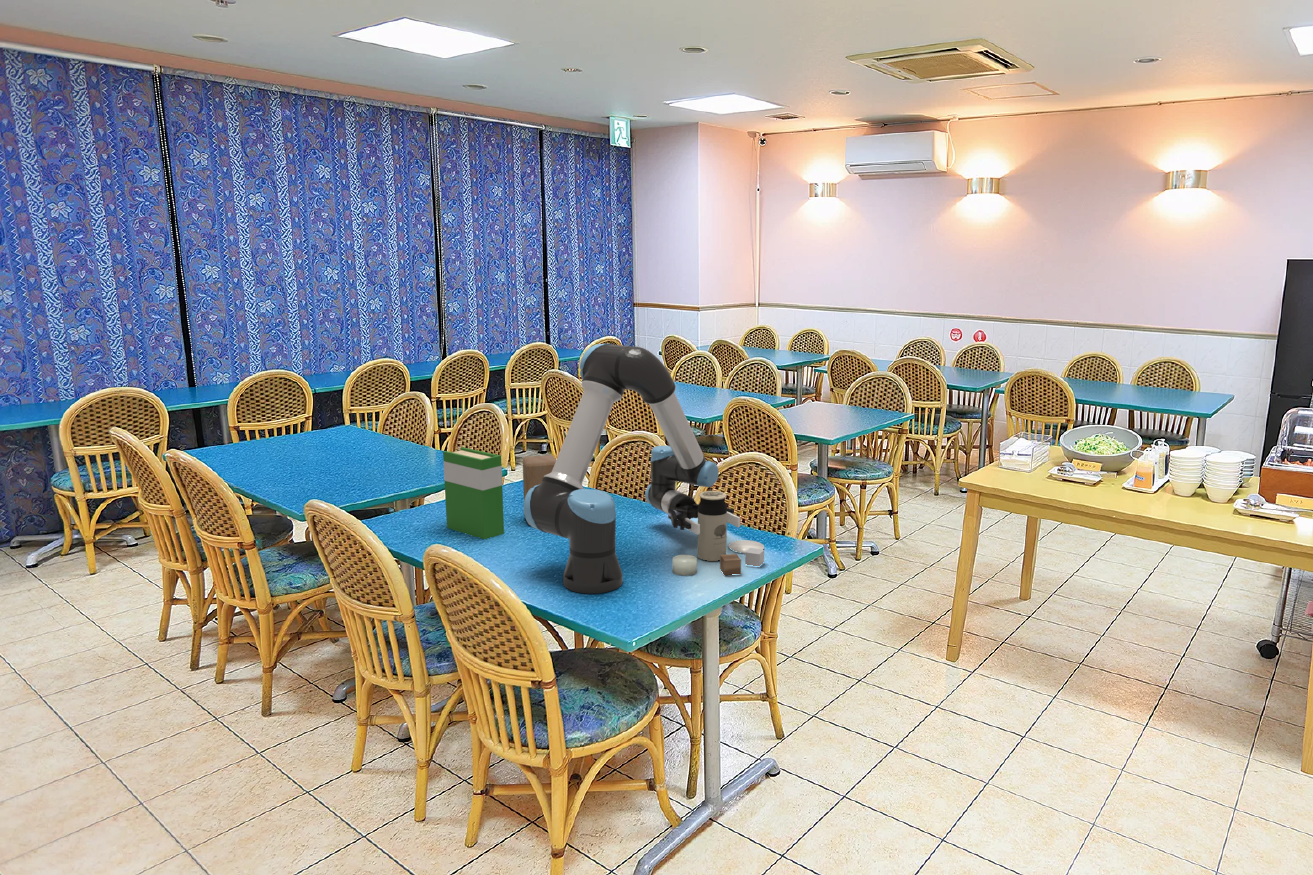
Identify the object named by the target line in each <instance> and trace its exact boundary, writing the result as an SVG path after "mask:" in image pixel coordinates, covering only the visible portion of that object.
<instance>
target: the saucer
mask: <svg viewBox="0 0 1313 875" xmlns="http://www.w3.org/2000/svg"><path fill="white" fill-rule="evenodd" d="M729 548H731V549H732V550H734V551H737V552H741V553H745V552H746V551H747V550H748V549H749V548H755V549H762V550H763V549H764V550H765V545H764V544H763V543H761V542H759V541H755V540H749V539H748V540H747V539H744V540H743V539H741V540H735V541H732V542H730V543H729V544H728V549H729ZM741 553H740V554H741Z"/></svg>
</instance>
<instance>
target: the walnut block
mask: <svg viewBox="0 0 1313 875" xmlns="http://www.w3.org/2000/svg"><path fill="white" fill-rule="evenodd" d="M720 569H721V571H722V572H723V574H724V575H732V574H742V572H741V571H742V559H741V557H739V555H738V553H729V554H727V553H726V555H720V561H719V570H720ZM721 571H720V572H721ZM722 572H721V573H722ZM723 574H722V575H723ZM724 575H723V576H724Z"/></svg>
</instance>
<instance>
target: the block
mask: <svg viewBox="0 0 1313 875" xmlns="http://www.w3.org/2000/svg"><path fill="white" fill-rule="evenodd" d="M556 460H557V458H556V457H555V456H554V455H553V454H545V455H532V456H531V455H529V456H524V457H523V458H522V480H523V481H522V484H523V501H524V500H525V497H526V494H527V493H528V491H529V490H530V489H531V488H533V487H534V486H536V485H540V484H541V482H542V479H543V477H544V475H547V474H549V473H551V472H552V470H553V467H554V465H555V462H556ZM523 514H524V513H523ZM523 516H524V517H525V519H526V516H525V514H524V515H523ZM526 522H527V521H526ZM527 525H528V526H531V525H530V524H529V523H528V522H527Z"/></svg>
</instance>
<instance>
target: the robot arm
mask: <svg viewBox="0 0 1313 875" xmlns="http://www.w3.org/2000/svg"><path fill="white" fill-rule="evenodd" d="M579 369H580V371H579V376H580V378H581V380H582V381H581V382H580V383H581V387H582V389H583V393H582V396H581V399H580V401H579V402H578V403H579V404H578V405H577V408H576V410H575V413H574V415H573V418H572V420H571V423H570V425H569V428H568V430H567V432H566V435H565V437H564V441H563V442H562V445H561V448H560V449H559V450H560V451H559V453H558V455H557V458H556V462H555V465H554V467H553V470H552V472H551V473H549V474H547V475H544V477H543V479H542V482H541V484H540V485H536V486H534V487H533V488H531V489H530V490H529V491H528V493H527V494H526V497H525V500H524V499H523V514H525V516H526V518H525V520H526V522H528V523H529V524H530V525H529V526H531V527H532V528H533V529H534V530H535V529H536V530H538V531H540V532H542V533H544V534H546V533H548V534H551V535H554V536H558V537H561V538H565V539H568V541H569V556H568V558H567V562H566V565H565V568H564V571H563V574H562V577H563V578H562V579H563V580H562V581H563V582H562V584H563V586H564V587H565V588H566V589H567V590H569V591H571V592H573V593H574V592H575V593H579V594H594V595H595V594H604V593H609V592H612V591H614V590H617V589H618V588H620V587H621V586H622V585H623V579H624V578H623V576H624V575H623V571H622V568H621V565H620V562H619V560H618V557H617V554H616V552H617V551H616V541H617V540H616V539H617V538H616V529H617V528H616V525H617V524H616V523H617V520H616V519H617V517H616V516H617V512H616V506H615V505H616V504H615V500H614V498H613V497H612V496H611V494H609V493H606V492H605V491H603V490H598V489H590V488H584V487H583V482H584V480H585V477H586V476H587V472H588V469H589V468H590V467H589V466H590V464H591V461H592V460H593V457H594V454H595V452H596V449H597V446H598V444H599V441H600V438H601V437H602V434H603V431H604V428H605V426H606V424H607V421H608V418H609V416H610V414H611V411H612V408H613V406H614V403H616V402H618V401H621V400H622V399H623V398H622V397H623V395H624V393H625V390H630V391H633V392H636V393H637V394H638V395H639V396H641V399H642V401H643V402H644V403H645V404H647V405H649V407H650V409H651V411H652V413H653V414H654V417H655V419H656V421H657V423H658V424H659V426H660V429H661V430H662V431H661V432H663V435H664V437H665V439H666V441H667V443H668V445H658V446H654V447H652V449H651V454H650V456H651V457H650V483H649V484H648V486H647V487H646V489H645V492H644V497H645V500H646V502H647V503H648V504H649V505H651V506H652V507H653V508H654V509H657V510H660V511H662V512H663V513H665V514H667V515H668V516H667V519H669V520H670V521H671V524H672V528H674V529H677V528H679V531H685V529H686V530H689V531H690V532H692V533H694V534H696V535H697V536H698V534H700V524H698V522H696V521H694V520H693V519H698V505H699V503H697V502H696V501H695V499H694V498H693V497H691V496H689V495H688V494H685V493H684V492H681V491H679V490H677V487H676V484H677V482H679V483H684V484H687V485H692V486H697V487H702V488H703V487H705V488H711V487H713V486H714V485H715V484H716V482H717V481H718V479H719V466H718V465H717V464H716V463H715V462H713V461H711V460H706V458H705V455H704V453H703V451H702V449H701V446H700V444H699V443H698V440H697V438H696V436H695V434H694V432H693V429H692V427H691V426H690V423H689V421H688V419H687V417H686V414H685V412H684V410H683V407H682V405H681V404H680V401H679V399H678V397H677V395H676V393H675V392H676V387H677V386H676V384H675V382H674V380H673V378H672V376H671V374H670V372H669V371H668V369H667V367H666V366H665V364H663V362H662V361H661V360H660V358H658V357H657V356H656V355H655V354H653V353H652V352H651V351H649V350H648V349H646V348H644V347H642V346H641V347H640V346H636V345H635V346H634V345H631V346H629V345H621V344H620V345H619V344H613V343H597V344H594V345H592V346H590V347H589V348H587V350H585V352H584V354H583V355H582V357H581V358H580V362H579ZM525 516H524V517H525ZM528 523H527V524H528ZM727 524H730V525H732V526H733V527H736V528H740V527H741V517H740V516H738V515H737V514H736V515H735V510H734V508H730V507H727Z"/></svg>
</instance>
